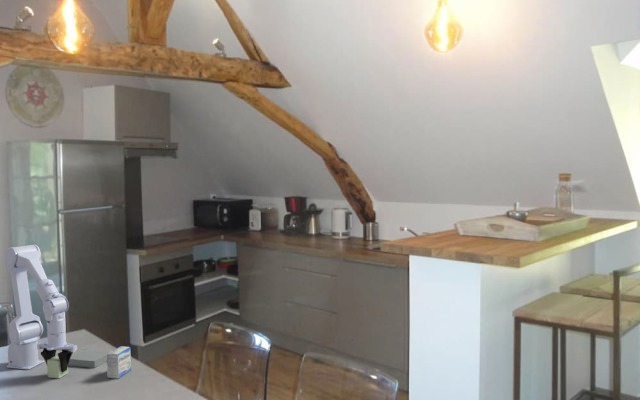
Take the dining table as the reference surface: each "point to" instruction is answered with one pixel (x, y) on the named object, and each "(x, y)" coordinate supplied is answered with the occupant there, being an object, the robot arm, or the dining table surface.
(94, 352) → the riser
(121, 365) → the medicine box
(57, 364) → the green block
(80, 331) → the dining table surface
